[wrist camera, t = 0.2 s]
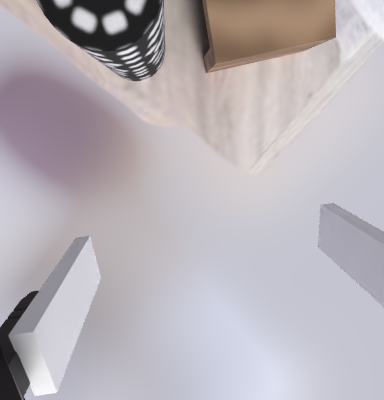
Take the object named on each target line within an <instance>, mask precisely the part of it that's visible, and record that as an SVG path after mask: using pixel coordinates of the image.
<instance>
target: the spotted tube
mask: <svg viewBox="0 0 384 400" xmlns="http://www.w3.org/2000/svg"><path fill="white" fill-rule="evenodd" d="M37 2H38V4H39V6H40V8H41V9H42V11H43V13H44V15H45V16H46V18H47V19H48V20H49V21H50V23H51V24H52V25H53V26H54V27H55V28H56V29H57V30H58V31H59V32H60V33H61V34H62V35H63V36H64V37H66V38H67V39H68V40H70V41H71V42H73V43H74V44H76V45H77V46H78V47H80V48H81V49H83V50H84V51H85V52H87V53H88V54H90V55H91V56H92V57H94V58H95V59H97V60H98V61H99V62H101V63H102V64H104V65H105V66H106V67H108V68H109V69H111V70H112V71H113V72H115V73H116V74H118V75H119V76H121V77H122V78H125V79H127V80H132V81H141V80H145V79H148V78H149V77H151V76H153V75H154V74H155V73H156V72H157V71H158V70H159V68H160V66H161V65H162V63H163V59H164V55H165V29H164V0H37Z"/></svg>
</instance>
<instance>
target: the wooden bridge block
mask: <svg viewBox="0 0 384 400" xmlns="http://www.w3.org/2000/svg"><path fill="white" fill-rule="evenodd" d="M202 2H203V8H204V14H205V20H206V26H207V32H208V38H209V44H210V49H209V50H208V52H207V53H206V55H205V56H204V57H203V58H204V63H205V69H206V73H208V72H213V71H217V70H222V69H226V68H231V67H235V66H240V65H244V64H249V63H253V62H258V61H262V60H267V59H271V58H276V57H280V56H285V55H289V54H294V53H298V52H302V51H305V50H307V49H310V48H312V47H314V46H317V45H319V44H321V43H324V42H326V41H328V40H331V39H333V38H335V37H336V23H335V0H202Z"/></svg>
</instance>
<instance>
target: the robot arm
mask: <svg viewBox="0 0 384 400" xmlns="http://www.w3.org/2000/svg"><path fill="white" fill-rule="evenodd" d="M318 247H319V248H320V249H321V250H322V251H323V252H324V253H325V254H326V255H327V256H328V257H330V258H331V259H332V260H333V261H334V262H335V263H336V264H337V265H338V266H339V267H340V268H342V269H343V270H344V271H345V272H346V273H347V274H348V275H349V276H350V277H351V278H352V279H354V280H355V281H356V282H357V283H358V284H359V285H360V286H361V287H362V288H363V289H364V290H365V291H366V292H368V293H369V294H370V295H371V296H372V297H373V298H374V299H375V300H376V301H377V302H378V303H380V304H381V305H382V306H383V307H384V232H383V231H381V230H379V229H378V228H376V227H374V226H372V225H371V224H369V223H367V222H365V221H364V220H362V219H360V218H358V217H357V216H355V215H353V214H352V213H350V212H348V211H346V210H345V209H343V208H341V207H339V206H338V205H336V204H334V203H332V204H324V205H321V208H320V225H319V240H318ZM100 279H101V276H100V272H99V269H98V265H97V261H96V257H95V253H94V249H93V246H92V242H91V238H90V236H86V237H79V238H76V239H75V240H74V241H73V243H72V244H71V246H70V247H69V249H68V250H67V251H66V253H65V254H64V256H63V257H62V259H61V260H60V262H59V263H58V265H57V266H56V267H55V269H54V270H53V272H52V273H51V275H50V276H49V277H48V279H47V280H46V282H45V283H44V285H43V286H42V288H41V289H40V290H39V291H33V292H31V293H29V294H28V295H27V296H26V297H24V298H23V299H22V300H21V301H20V302H19V303H18V305H17V306H16V307H15V309H14V311H13V312H12V313H11V314H10V315H9V317H8V319H7V320H6V321H5V322H4V323H3V324H2V326H1V327H0V400H25V398H24V395H25V393H26V390H27V389H28V387H29V385H30V386H31V388H32V391H33V393H34V395H35V396H38V395H45V394H50V393H57V392H58V389H59V386H60V384H61V381H62V379H63V376H64V373H65V371H66V368H67V366H68V363H69V360H70V358H71V355H72V353H73V350H74V347H75V345H76V342H77V339H78V337H79V334H80V331H81V329H82V326H83V324H84V321H85V319H86V316H87V313H88V311H89V308H90V306H91V303H92V300H93V298H94V295H95V292H96V290H97V287H98V285H99V282H100Z"/></svg>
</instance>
